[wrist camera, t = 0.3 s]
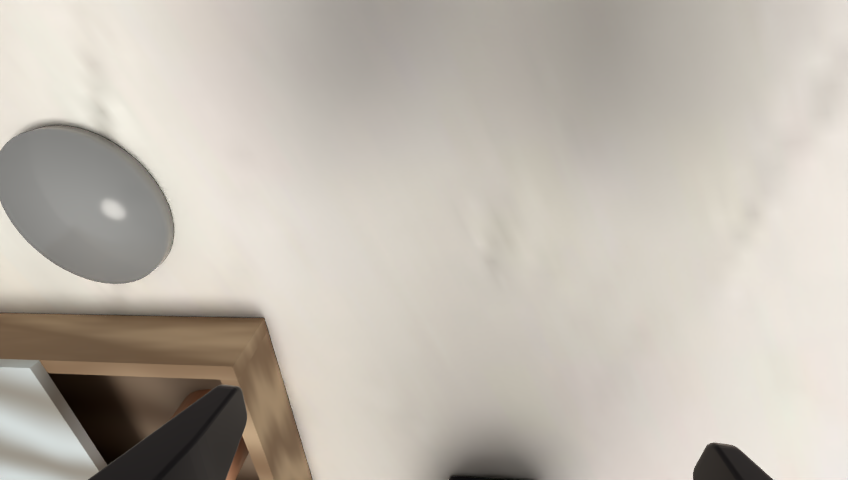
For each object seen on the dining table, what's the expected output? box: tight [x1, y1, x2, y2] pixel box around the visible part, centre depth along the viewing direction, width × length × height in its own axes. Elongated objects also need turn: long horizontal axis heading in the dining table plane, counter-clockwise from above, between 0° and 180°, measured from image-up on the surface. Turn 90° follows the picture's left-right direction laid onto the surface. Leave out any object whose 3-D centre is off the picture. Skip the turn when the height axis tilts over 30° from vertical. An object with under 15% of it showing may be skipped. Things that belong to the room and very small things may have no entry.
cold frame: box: [0, 313, 312, 480], centre depth 30 cm, size 17×22×5 cm
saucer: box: [0, 125, 174, 284], centre depth 24 cm, size 9×9×1 cm
